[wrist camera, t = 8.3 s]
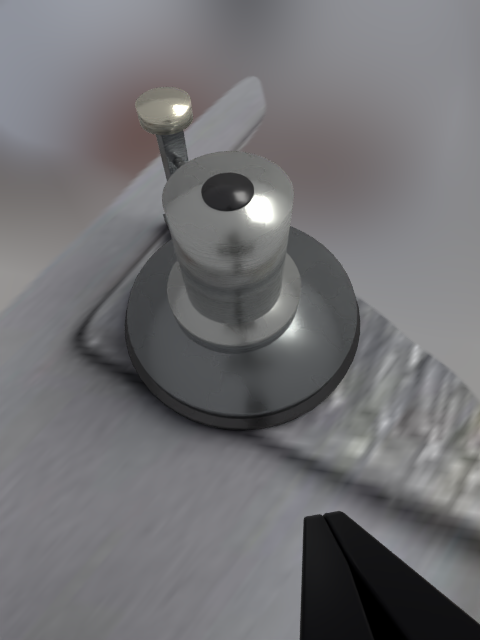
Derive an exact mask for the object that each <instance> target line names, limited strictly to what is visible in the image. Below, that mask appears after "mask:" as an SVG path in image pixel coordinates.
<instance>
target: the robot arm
mask: <svg viewBox="0 0 480 640" xmlns="http://www.w3.org/2000/svg"><path fill="white" fill-rule="evenodd" d="M300 640H480V624H479V623H478V622H476V621H475V620H474V619H473V618H472V617H470V616H469V615H468V614H467V613H465V612H464V611H463V610H462V609H461V608H459V607H458V606H457V605H456V604H455V603H453V602H452V601H451V600H450V599H448V598H447V597H446V596H445V595H444V594H442V593H441V592H440V591H439V590H437V589H436V588H435V587H434V586H433V585H431V584H430V583H429V582H428V581H426V580H425V579H424V578H423V577H422V576H420V575H419V574H418V573H417V572H415V571H414V570H413V569H412V568H411V567H409V566H408V565H407V564H406V563H404V562H403V561H402V560H401V559H400V558H398V557H397V556H396V555H395V554H393V553H392V552H391V551H390V550H389V549H387V548H386V547H385V546H384V545H382V544H381V543H380V542H379V541H378V540H376V539H375V538H374V537H373V536H372V535H370V534H369V533H368V532H367V531H365V530H364V529H363V528H362V527H361V526H359V525H358V524H357V523H356V522H354V521H353V520H352V519H351V518H350V517H348V516H347V515H346V514H345V513H343V512H341V511H336V512H330V513H325V514H324V515H323V516H322V515H320V514H319V515H313V516H307V517H305V518H304V526H303V556H302V587H301V618H300Z"/></svg>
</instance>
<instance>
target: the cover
mask: <svg viewBox="0 0 480 640" xmlns="http://www.w3.org/2000/svg"><path fill="white" fill-rule="evenodd" d="M293 198H294V190H293V186H292V183H291V181H290V179H289V177H288V176H287V174H286V173H285V172H284V171H283V170H282V169H281V168H280V167H279V166H278V165H276V164H275V163H273V162H272V161H270V160H268V159H266V158H263V157H261V156H258V155H255V154H251V153H246V152H238V151H225V152H216V153H211V154H206V155H203V156H200V157H197V158H195V159H193V160H191V161H189V162H187V163H185V164H184V165H182V166H181V167H180V168H178V169H177V170H176V171H175V172H174V173H173V174H172V175H171V177H170V178H169V179H168V181H167V183H166V185H165V187H164V190H163V194H162V202H163V208H164V212H165V215H166V219H167V223H168V226H169V230H170V233H171V237H172V241H173V244H174V248H175V252H176V255H177V259H178V260H177V261H176V263H175V264H174V266H173V268H172V270H171V272H170V275H169V278H168V283H167V295H168V301H169V304H170V307H171V310H172V312H173V315H174V318H175V320H176V322H177V324H178V326H179V327H180V329H181V330H182V331H183V333H184V334H185V335H186V336H187V337H188V338H190V339H191V340H192V341H193V342H195V343H196V344H198V345H200V346H202V347H204V348H206V349H209V350H212V351H215V352H220V353H227V354H239V353H247V352H252V351H255V350H258V349H261V348H263V347H266V346H268V345H270V344H271V343H273V342H274V341H276V340H277V339H278V338H279V337H281V336H282V335H283V334H284V333H285V332H286V331H287V329H288V328H289V327H290V325H291V324H292V322H293V320H294V318H295V315H296V312H297V308H298V304H299V299H300V294H301V279H300V274H299V271H298V269H297V266H296V265H295V263H294V261H293V260H292V258H291V257H290V256H289V255H288V254H287V253H286V251H287V244H288V236H289V229H290V221H291V213H292V207H293Z"/></svg>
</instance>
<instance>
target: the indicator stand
mask: <svg viewBox="0 0 480 640" xmlns="http://www.w3.org/2000/svg"><path fill="white" fill-rule="evenodd" d="M135 107H136V110H137V114H138V118H139V121H140V125H141V127H142V128H143V129H144V130H145V131H147V132H149V133H152V134H156V137H157V141H158V145H159V150H160V154H161V158H162V162H163V166H164V170H165V174H166V179H167V181H168V179H169V178H170V177H171V175H172V174H173V173H174V172H175V171H176V170H177V169H178V168H180V167H181V166H182V165H184V164H185V163H187V162H188V156H187V150H186V144H185V138H184V132H183V130H184V129H186V128H187V127H188V126H189V125H190V124H191V122H192V120H193V114H192V107H191V100H190V96H189V95H188V94H187V93H186V92H185V91H183V90H181V89H178V88H174V87H160V88H155V89H152V90H149V91H147V92H145V93H143V94H142V95H140V96H139V98H138V99H137V101H136V103H135ZM163 216H164V220H165V223H166V224H167V226H168V223H167V219H166V215H165V214H163ZM168 228H169V226H168Z"/></svg>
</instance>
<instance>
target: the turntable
mask: <svg viewBox="0 0 480 640" xmlns="http://www.w3.org/2000/svg"><path fill="white" fill-rule="evenodd" d="M286 253H287V254H288V255H289V256H290V257H291V258H292V260H293V261H294V263H295V265H296V266H297V269H298V271H299V274H300V279H301V294H300V299H299V304H298V308H297V312H296V315H295V318H294V320H293V322H292V324H291V325H290V327H289V328H288V329H287V331H286V332H285V333H284V334H283V335H282V336H281V337H279V338H278V339H277V340H276V341H274V342H273V343H271V344H270V345H268V346H266V347H263V348H261V349H258V350H255V351H252V352H247V353H239V354H227V353H220V352H215V351H212V350H209V349H206V348H204V347H202V346H200V345H198V344H196V343H195V342H193V341H192V340H191V339H190V338H188V337H187V336H186V335H185V334H184V333H183V331H182V330H181V329H180V327H179V326H178V324H177V322H176V320H175V318H174V315H173V312H172V310H171V307H170V304H169V301H168V295H167V283H168V278H169V275H170V272H171V270H172V268H173V266H174V264H175V263H176V261H177V260H178V259H177V255H176V252H175V248H174V244H173V241H172V239H171V240H170V241H168V242H167V243H166V244H164V245H163V246H162V247H161V248H159V249H158V250H157V251H156V252H155V253H154V254H153V255H152V256H151V257H150V259H149V260H148V261H147V262H146V264H145V265H144V266H143V268H142V269H141V271H140V273H139V275H138V276H137V278H136V280H135V282H134V285H133V287H132V290H131V293H130V297H129V302H128V307H127V311H126V319H125V336H126V343H127V348H128V352H129V355H130V358H131V360H132V363H133V365H134V367H135V369H136V371H137V372H138V374H139V376H140V378H141V379H142V381H143V382H144V383H145V384H146V386H147V387H148V388H149V389H150V391H151V392H152V393H153V394H154V395H155V396H156V397H157V398H158V399H159V400H160V401H161V402H162V403H164V404H165V405H166V406H168V407H169V408H171V409H172V410H173V411H175V412H176V413H178V414H180V415H182V416H184V417H186V418H188V419H190V420H192V421H195V422H198V423H201V424H204V425H207V426H210V427H216V428H221V429H227V430H253V429H263V428H267V427H272V426H276V425H280V424H283V423H285V422H288V421H291V420H293V419H296V418H298V417H299V416H301V415H303V414H305V413H307V412H309V411H310V410H312V409H313V408H314V407H316V406H317V405H319V404H320V403H321V402H323V401H324V400H325V399H326V398H327V397H328V396H329V395H330V394H331V393H332V392H333V391H334V390H335V388H336V387H337V386H338V384H339V383H340V382H341V380H342V379H343V378H344V376H345V375H346V373H347V371H348V369H349V367H350V365H351V363H352V361H353V359H354V356H355V353H356V350H357V347H358V341H359V336H360V315H359V308H358V304H357V300H356V297H355V294H354V290H353V287H352V284H351V282H350V280H349V277H348V275H347V273H346V272H345V270H344V269H343V267H342V265H341V264H340V262H339V261H338V260H337V259H336V258H335V257H334V255H333V254H332V253H331V252H330V251H329V250H328V249H327V248H326V247H325V246H323V245H322V244H321V243H319V242H318V241H317V240H315V239H314V238H313V237H310V236H309V235H307V234H306V233H304V232H302V231H300V230H298V229H296V228H293V227H291V226H290V229H289V236H288V244H287V251H286Z"/></svg>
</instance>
